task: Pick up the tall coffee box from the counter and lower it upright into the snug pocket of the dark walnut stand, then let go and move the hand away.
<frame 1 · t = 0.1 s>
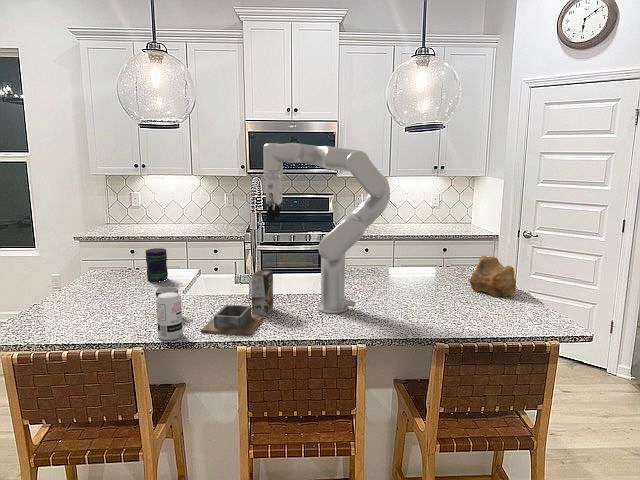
hand: (273, 218, 195), 37 cm above the countertop, tool pointing down, fingers open, 9 cm apart
coffee mug: (168, 316, 190), on the countertop
holder stand: (233, 325, 180), on the countertop
storage jar: (157, 280, 240), on the countertop
coffee box: (262, 312, 195), on the countertop
supplement can: (170, 337, 169), on the countertop
rough brown rock: (487, 292, 224), on the countertop
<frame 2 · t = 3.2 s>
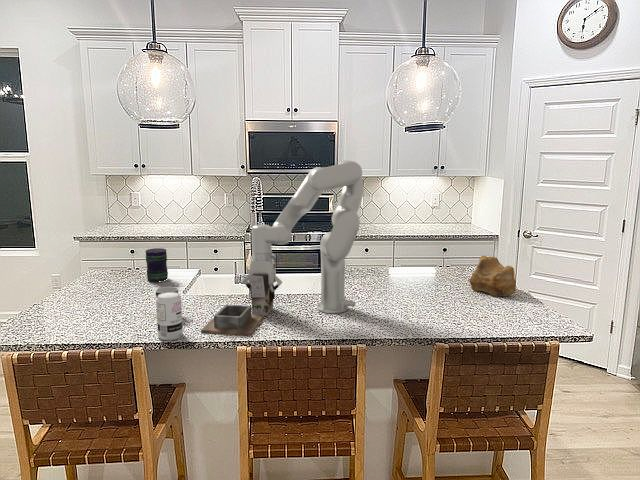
hand: (262, 299, 194), 5 cm above the countertop, tool pointing down, fingers closed on coffee box, 6 cm apart
coffee box: (262, 312, 195), on the countertop, touching gripper
everything else where it was.
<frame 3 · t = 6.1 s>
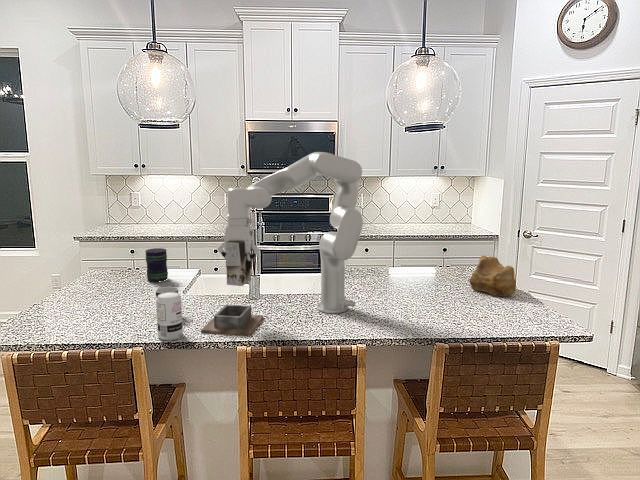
hand: (238, 269, 180), 20 cm above the countertop, tool pointing down, fingers closed on coffee box, 6 cm apart
coffee box: (239, 283, 181), point 15 cm above the countertop, touching gripper
everything else where it was.
when the fingers open (7 cm above the countertop, at t = 9.3 s): coffee box drops 1 cm, resting on holder stand.
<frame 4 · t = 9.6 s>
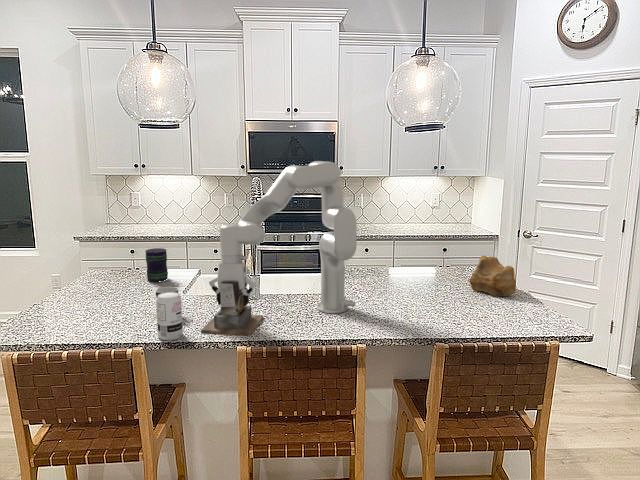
hand: (232, 304, 179), 8 cm above the countertop, tool pointing down, fingers open, 9 cm apart
coffee box: (233, 322, 180), point 1 cm above the countertop, touching holder stand
everything else where it was.
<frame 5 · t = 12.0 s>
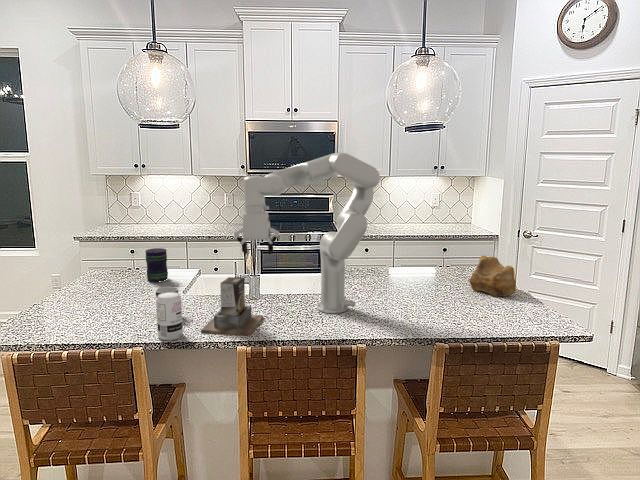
hand: (257, 253, 187), 25 cm above the countertop, tool pointing down, fingers open, 9 cm apart
nothing on the countertop moved.
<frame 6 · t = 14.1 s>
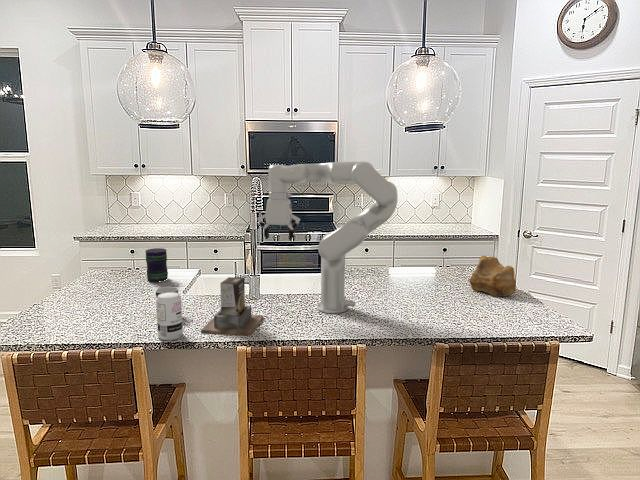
hand: (278, 238, 197), 28 cm above the countertop, tool pointing down, fingers open, 9 cm apart
nothing on the countertop moved.
at the end: coffee box 0.1 cm off-centre on the holder stand, point 0.8 cm above the holder stand's base; coffee box tilted 0°; the gripper is holding nothing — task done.
